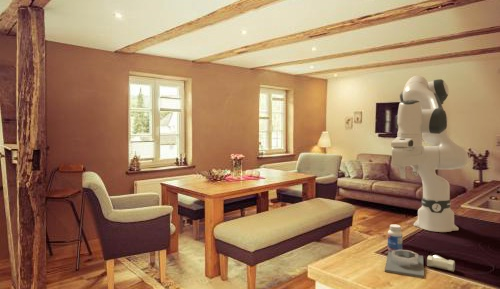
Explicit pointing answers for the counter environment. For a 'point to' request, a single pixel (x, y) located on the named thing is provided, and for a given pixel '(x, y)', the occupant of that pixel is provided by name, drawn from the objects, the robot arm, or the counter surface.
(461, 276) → the counter surface
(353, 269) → the counter surface
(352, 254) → the counter surface
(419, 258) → the mat
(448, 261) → the pipe fitting
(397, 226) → the pill bottle
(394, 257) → the steel collar
